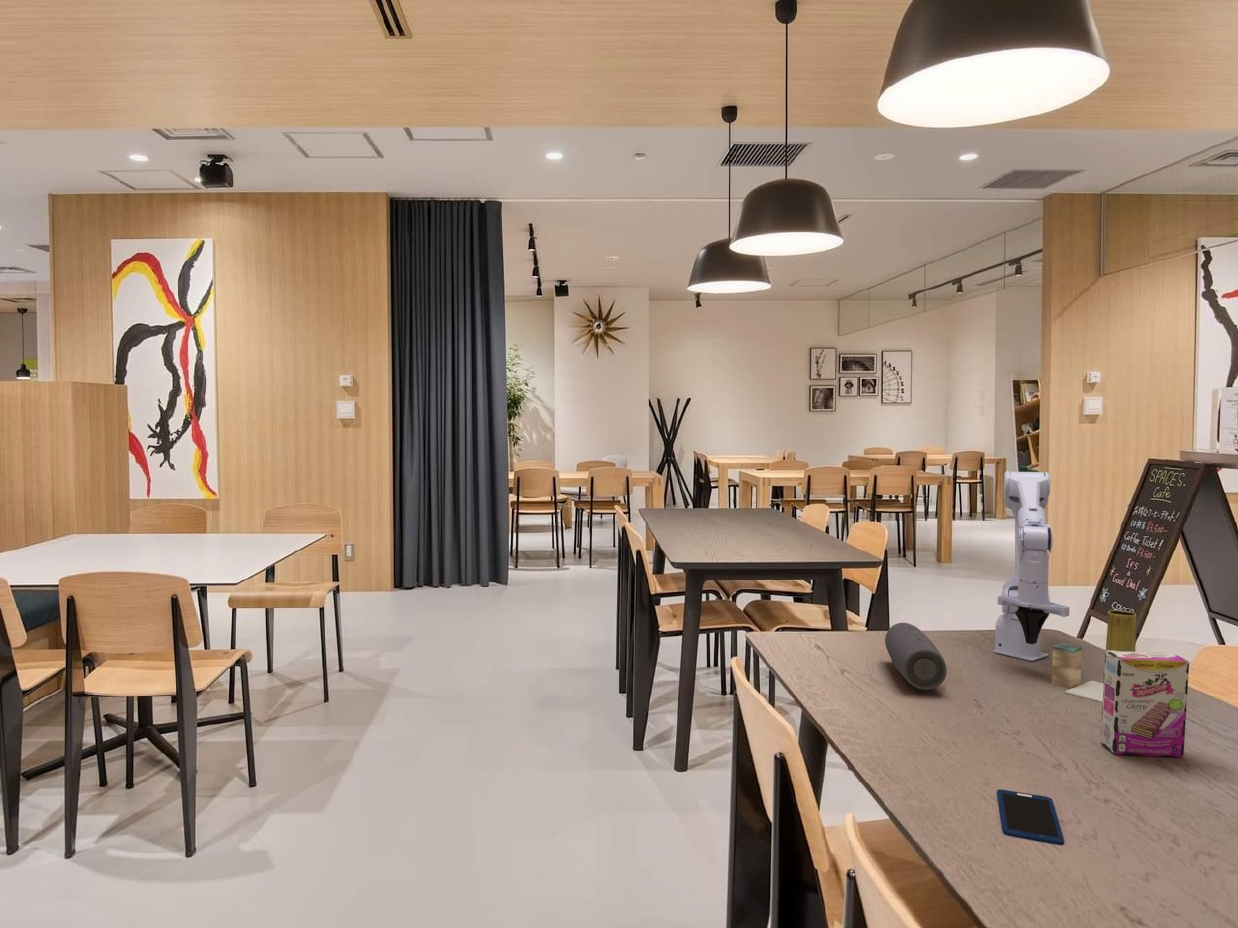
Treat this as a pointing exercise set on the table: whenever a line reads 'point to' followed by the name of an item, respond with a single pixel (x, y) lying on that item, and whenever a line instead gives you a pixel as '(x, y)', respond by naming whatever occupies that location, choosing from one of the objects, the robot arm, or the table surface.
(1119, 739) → the candy bar box
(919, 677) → the bluetooth speaker
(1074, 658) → the block
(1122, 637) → the vase
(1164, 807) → the table surface
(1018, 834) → the cell phone
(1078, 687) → the mat
